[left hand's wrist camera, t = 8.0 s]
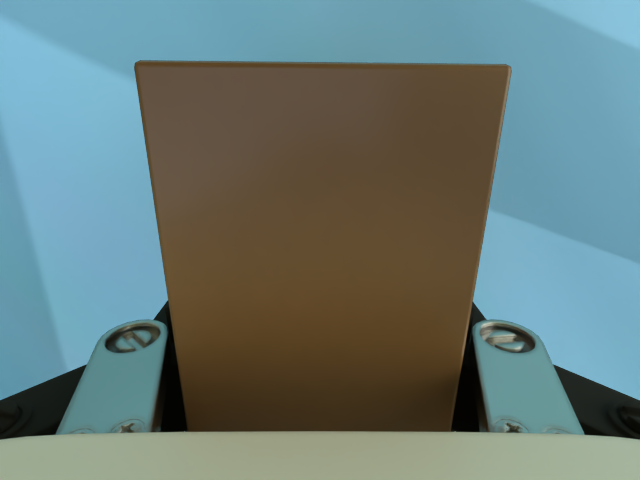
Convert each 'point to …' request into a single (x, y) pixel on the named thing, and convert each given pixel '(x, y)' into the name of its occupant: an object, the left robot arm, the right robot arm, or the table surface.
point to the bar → (320, 235)
